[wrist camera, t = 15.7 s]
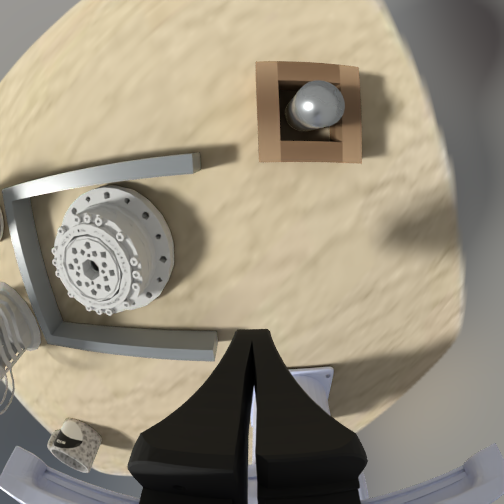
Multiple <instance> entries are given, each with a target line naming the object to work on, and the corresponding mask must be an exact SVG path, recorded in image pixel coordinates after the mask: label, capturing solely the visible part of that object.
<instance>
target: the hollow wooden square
mask: <svg viewBox="0 0 504 504" xmlns="http://www.w3.org/2000/svg"><path fill="white" fill-rule="evenodd" d="M315 80H322V81H326V82H329V83H331V84H333V85H334V86H335V87H336V88H337V89H338V90H339V91H340V92H341V94H342V96H343V98H344V102H345V109H344V113H343V115H342V117H341V119H340V120H339V121H338V122H337V123H335V124H333V125H331V126H330V142H323V141H280V115H279V90H300V89H301V88H302V86H304V85H305V84H306V83H308V82H311V81H315ZM256 92H257V118H258V145H259V162H338V163H361V164H362V124H361V97H360V81H359V68H358V67H354V66H345V65H336V64H325V63H311V62H284V61H264V62H256Z"/></svg>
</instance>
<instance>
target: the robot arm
mask: <svg viewBox="0 0 504 504" xmlns="http://www.w3.org/2000/svg"><path fill="white" fill-rule="evenodd" d="M333 373H334V370H333V368H332V367H318V368H305V369H287V367H286V365H285V364H284V362H283V360H282V358H281V357H280V355H279V353H278V351H277V349H276V347H275V345H274V342H273V340H272V337H271V334H270V331H269V330H268V329H250V330H237V331H236V332H235V335H234V337H233V339H232V341H231V343H230V345H229V347H228V349H227V351H226V353H225V354H224V356H223V358H222V359H221V361H220V362H219V364H218V365H217V367H216V368H215V370H214V371H213V372H212V374H211V375H210V376H209V378H208V379H207V380H206V381H205V383H204V384H203V385H202V386H201V387H200V388H199V389H198V390H197V391H196V392H195V393H194V394H193V395H192V396H191V397H190V398H189V399H188V400H187V401H186V402H185V403H184V404H183V405H182V406H181V407H179V408H178V409H177V410H175V411H174V412H173V413H172V414H170V415H169V416H168V417H166V418H165V419H163V420H162V421H161V422H159V423H157V424H156V425H154V426H152V427H151V428H149V429H147V430H146V431H144V432H142V433H141V434H140V436H139V437H138V439H137V441H136V443H135V445H134V447H133V450H132V453H131V456H130V459H129V462H128V470H129V471H130V473H131V474H132V476H133V477H134V478H135V479H136V480H137V481H138V482H139V483H140V484H141V485H142V486H143V490H142V493H141V498H135V497H131V496H128V495H124V494H120V493H117V492H113V491H110V490H107V489H104V488H100V487H98V486H95V485H92V484H89V483H86V482H84V481H81V480H78V479H75V478H73V477H71V476H68V475H66V474H63V473H61V472H59V471H57V470H54V469H52V468H50V467H48V466H46V464H45V463H44V462H43V461H42V460H41V459H40V458H38V457H37V456H36V455H34V454H32V453H31V452H29V451H27V450H25V449H23V448H21V447H19V446H16V447H15V449H14V451H13V452H12V454H11V456H10V458H9V460H8V462H7V464H6V466H5V468H4V470H3V472H2V474H1V476H0V488H1V489H2V490H3V491H4V492H6V493H7V494H8V495H10V496H11V497H12V498H14V499H15V500H17V501H18V502H20V503H21V504H491V503H492V502H494V501H495V500H497V499H498V498H500V497H501V496H502V495H504V458H503V457H502V455H501V453H500V451H499V449H498V447H497V445H496V443H493V444H491V445H489V446H488V447H486V448H484V449H482V450H480V451H478V452H477V453H475V454H474V455H473V456H471V457H470V458H469V459H468V460H467V461H466V462H465V463H464V465H462V466H460V467H458V468H456V469H453V470H451V471H449V472H447V473H444V474H442V475H440V476H437V477H435V478H432V479H430V480H427V481H424V482H422V483H419V484H416V485H413V486H410V487H407V488H404V489H401V490H398V491H394V492H391V493H388V494H384V495H380V496H377V497H372V498H369V496H368V490H367V485H366V481H365V477H364V473H363V469H364V468H365V466H366V464H367V462H368V461H367V456H366V453H365V450H364V448H363V446H362V444H361V442H360V440H359V438H358V436H357V435H356V433H354V432H353V431H351V430H350V429H348V428H346V427H345V426H343V425H342V424H341V423H339V422H338V421H336V420H335V419H334V418H333V417H331V414H330V410H329V405H328V397H329V392H330V388H331V383H332V378H333ZM328 374H329V375H328ZM250 416H251V426H252V427H253V454H252V465H248V435H249V424H250Z"/></svg>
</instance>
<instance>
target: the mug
mask: <svg viewBox="0 0 504 504" xmlns="http://www.w3.org/2000/svg"><path fill="white" fill-rule="evenodd" d="M101 442H102V438H101V436H100V435H99V434H98V433H97V432H96V431H95V430H94V429H93V428H92V427H90V426H89V425H87V424H85V423H84V422H82V421H79V420H77V419H74V418H67V419H66V420H65V422H64V424H63V426H62V427H61V429H60V430H55V431H54V433H53V434H52V436H51V437H50V439H49V442H48V445H47V447H48V449H49V450H50V451H51V452H52V454H53V455H54V456H55V457H56V458H58V459H59V460H60V461H62V462H63V463H65V464H66V465H68V466H70V467H72V468H73V469H75V470H78V471H81V472H84V473H89V472H90V469H91V467H92V464H93V462H94V459H95V457H96V454H97V452H98V449H99V447H100V444H101Z"/></svg>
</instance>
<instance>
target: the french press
mask: <svg viewBox="0 0 504 504" xmlns="http://www.w3.org/2000/svg"><path fill="white" fill-rule="evenodd" d="M40 343H41V337H40V330H39V327H38V325H37V322H36V319H35V317H34V315H33V314H32V312H31V310H30V309H29V307H28V305H27V304H26V302H25V301H24V300H23V299H22V298H21V296H20V295H19V294H18V293H17V292H16V291H15V290H14V289H13V288H11V287H10V286H9V285H7V284H6V283H4V282H0V381H1V379H2V378H3V377H4V376H5V380H6V390H5V394H4V397H3V399H2V401H1V402H0V406H1V404H2V403H3V402H4V400H5V397H6V393H7V389H8V382H7V376H6V373H7V372H8V371H9V369H10V373H11V378H12V384H13V391H12V396H11V399H10V401H9V403H8V405H7V406H6V408H5V409H4V410H3V411H1V412H0V415H1V414H3V413H4V412H5V411H6V410H7V408H8V407H9V405H10V403H11V402H12V399H13V395H14V379H13V375H12V367H13V365H14V364H15V363H16V362H17V360H18V359H19V358H20V357H21V355H22V354H23V353H24V352H25V351H26V350H29V351H32V350H36V349H38V347H39V345H40ZM21 348H22V349H23V350H22V349H21ZM17 352H19V355H18V356H16V355H15V354H16V353H17ZM11 359H13V360H14V361H13V362H12V363H10V362H9V361H10V360H11ZM5 366H7V367H8V368H7V369H6V370H5Z"/></svg>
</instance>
